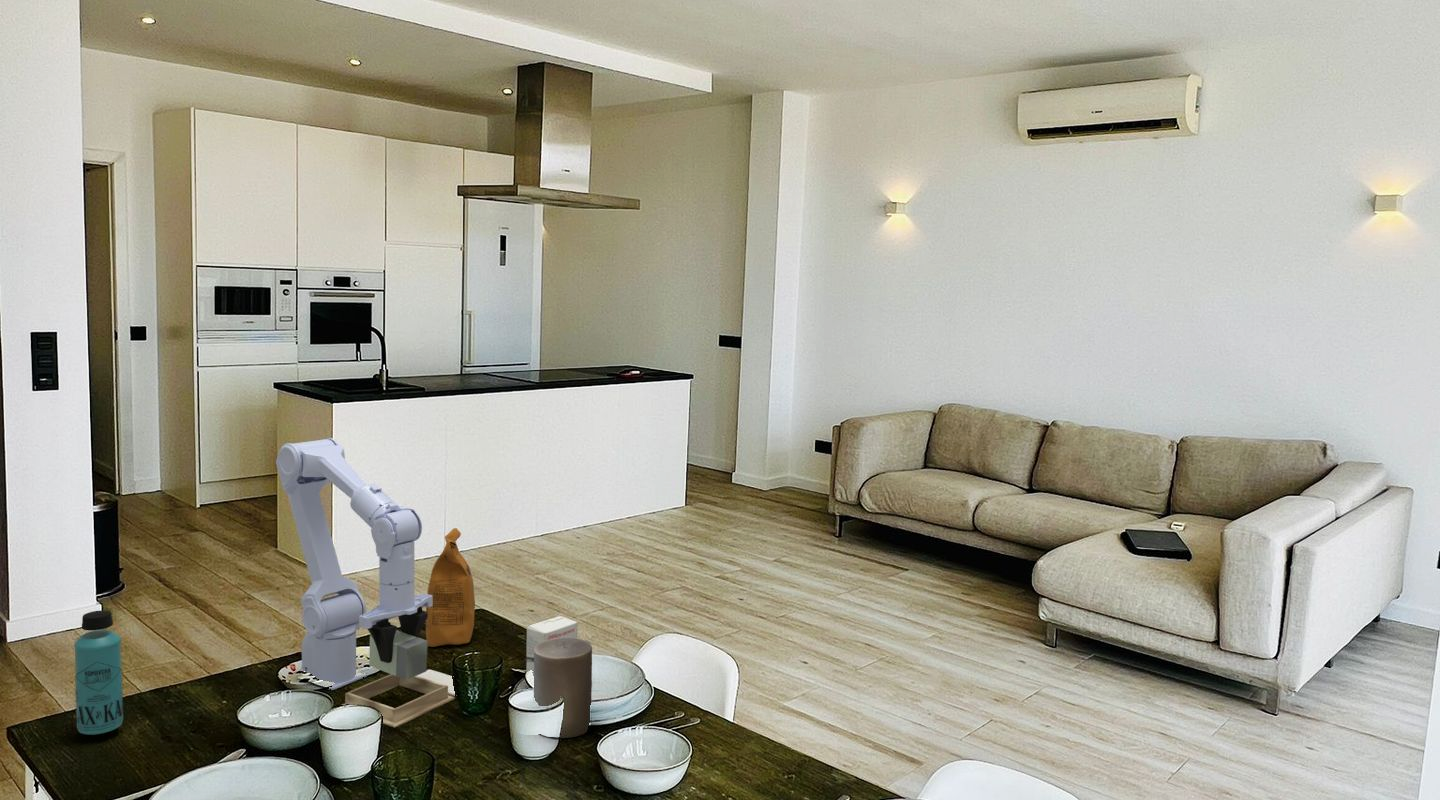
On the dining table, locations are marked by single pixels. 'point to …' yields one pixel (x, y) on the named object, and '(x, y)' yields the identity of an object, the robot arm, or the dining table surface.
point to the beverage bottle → (98, 676)
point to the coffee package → (450, 597)
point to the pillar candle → (565, 680)
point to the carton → (408, 711)
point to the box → (402, 656)
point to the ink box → (548, 635)
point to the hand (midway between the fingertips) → (397, 656)
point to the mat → (439, 679)
